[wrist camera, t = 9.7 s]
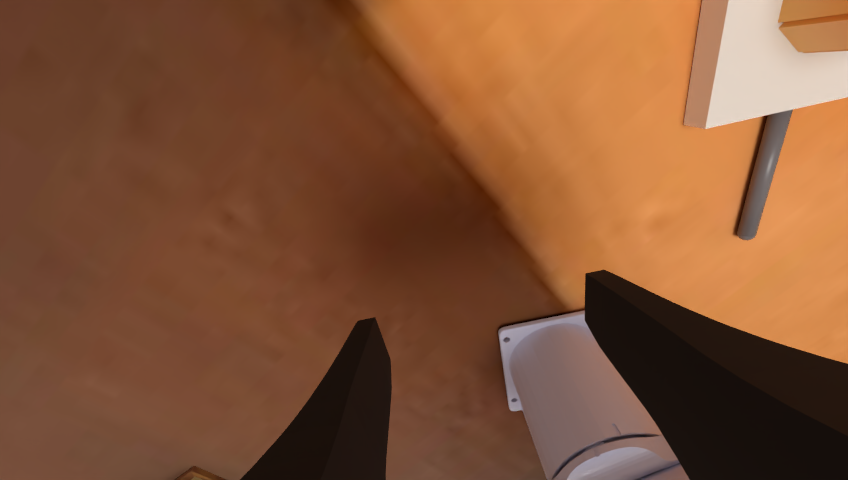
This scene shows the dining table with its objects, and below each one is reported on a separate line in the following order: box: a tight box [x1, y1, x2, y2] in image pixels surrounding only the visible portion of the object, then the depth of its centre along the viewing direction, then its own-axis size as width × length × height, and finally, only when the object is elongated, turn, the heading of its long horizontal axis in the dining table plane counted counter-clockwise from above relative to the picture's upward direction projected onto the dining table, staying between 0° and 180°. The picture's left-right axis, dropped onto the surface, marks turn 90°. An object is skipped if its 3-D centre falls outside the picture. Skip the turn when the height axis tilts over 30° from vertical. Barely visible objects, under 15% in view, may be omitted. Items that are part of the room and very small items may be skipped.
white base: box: [683, 0, 848, 240], centre depth 15 cm, size 18×10×6 cm, turn 12°
